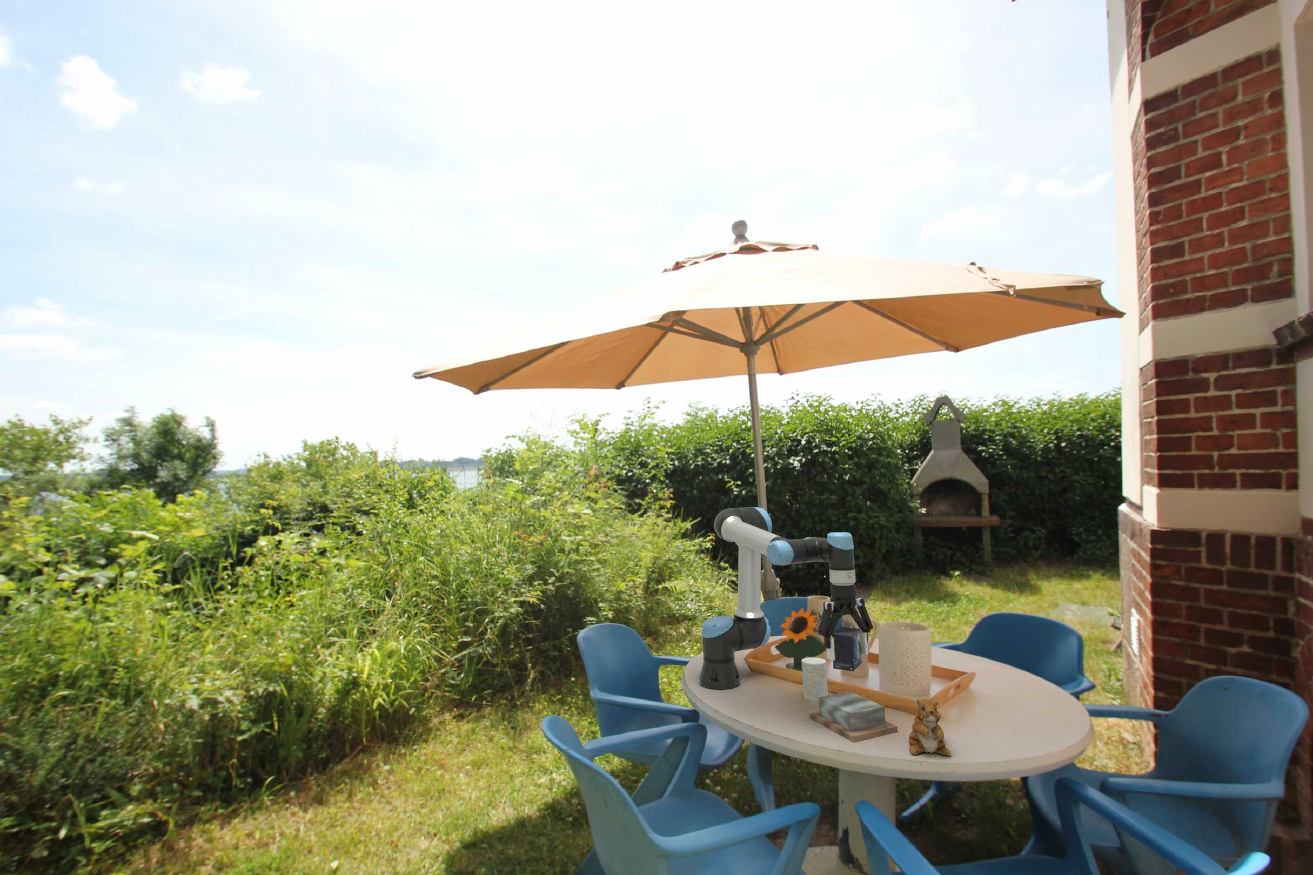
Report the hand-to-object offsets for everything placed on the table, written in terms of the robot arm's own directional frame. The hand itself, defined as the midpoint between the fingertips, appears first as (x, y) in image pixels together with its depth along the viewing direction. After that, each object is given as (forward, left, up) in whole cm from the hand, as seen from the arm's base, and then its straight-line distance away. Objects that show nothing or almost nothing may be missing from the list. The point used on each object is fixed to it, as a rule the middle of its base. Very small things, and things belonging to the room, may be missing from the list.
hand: (847, 656), depth 175 cm
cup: (-24, +5, -20) cm, 32 cm away
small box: (0, 0, -3) cm, 3 cm away
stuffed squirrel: (+21, +8, -20) cm, 30 cm away
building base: (0, 0, -20) cm, 20 cm away
